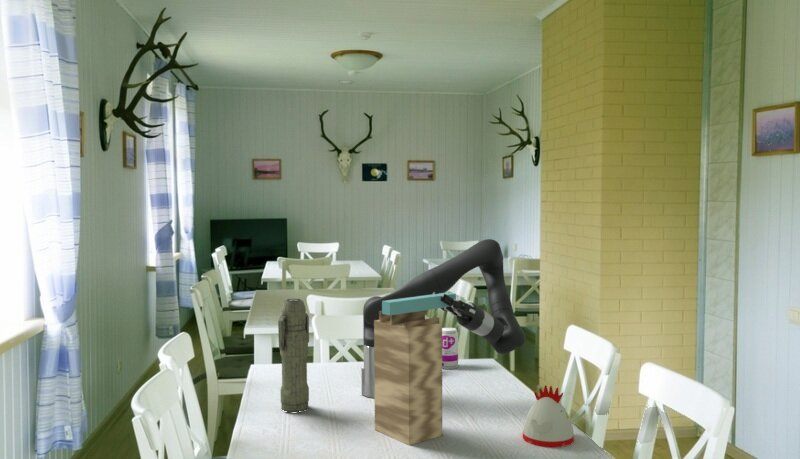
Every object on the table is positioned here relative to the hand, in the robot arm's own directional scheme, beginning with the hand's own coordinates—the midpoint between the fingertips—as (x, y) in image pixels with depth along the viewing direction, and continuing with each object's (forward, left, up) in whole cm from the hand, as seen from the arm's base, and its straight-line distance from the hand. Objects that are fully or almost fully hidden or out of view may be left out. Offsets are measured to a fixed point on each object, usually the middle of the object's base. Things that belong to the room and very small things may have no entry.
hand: (437, 296), depth 206 cm
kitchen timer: (+31, +4, -39) cm, 50 cm away
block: (-3, -6, -3) cm, 7 cm away
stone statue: (-49, +2, -39) cm, 63 cm away
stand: (-7, -6, -39) cm, 40 cm away
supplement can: (-21, +71, -39) cm, 84 cm away
